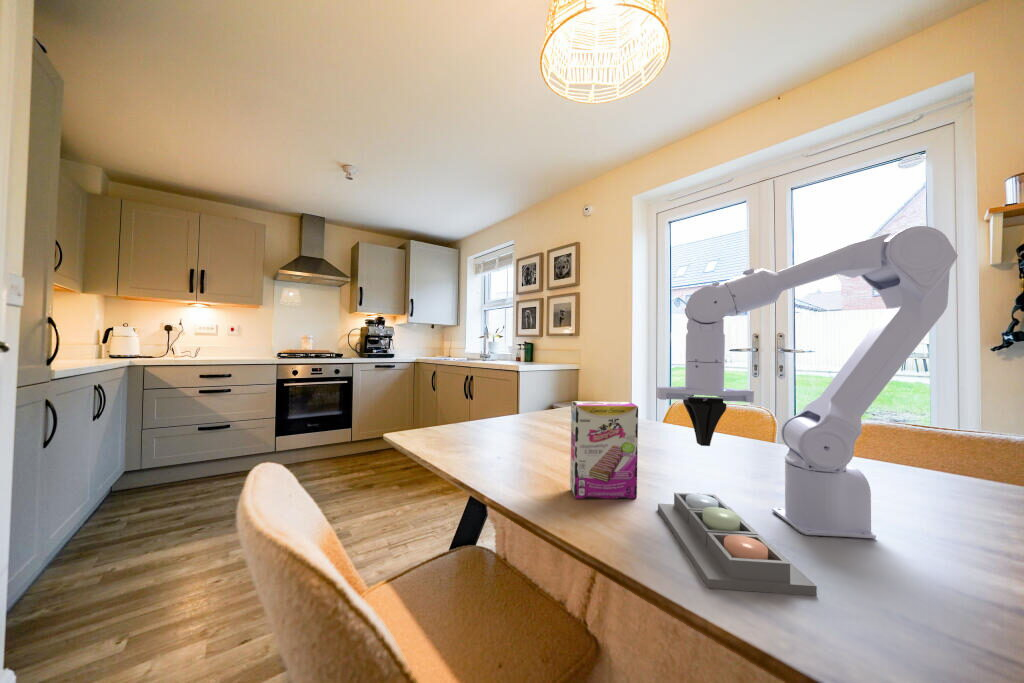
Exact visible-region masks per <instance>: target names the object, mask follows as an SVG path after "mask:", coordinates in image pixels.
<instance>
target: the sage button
mask: <svg viewBox="0 0 1024 683" xmlns="http://www.w3.org/2000/svg"><path fill="white" fill-rule="evenodd" d="M733 511H734V510H733ZM733 511H731V510H728V509H724V508H719V507H706V508H704V509H703V524H704V525H705V526H706V527H707V528H708V530H726V531H740V517H741V515H739V513H737V512H736V511H735V512H736V513H735V512H733Z"/></svg>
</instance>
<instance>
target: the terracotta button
mask: <svg viewBox="0 0 1024 683" xmlns="http://www.w3.org/2000/svg"><path fill="white" fill-rule="evenodd" d="M724 548H725V550H726V551H727V552H728V553H729V554H730V555H731V557H732V558H745V559H762V560H768V548H767V547H766V546H765V545H764V544H763V543H761V542H760V541H758V540H755V539H753V538H750V537H746V536H741V535H729V536H726V537H725V538H724Z"/></svg>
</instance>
